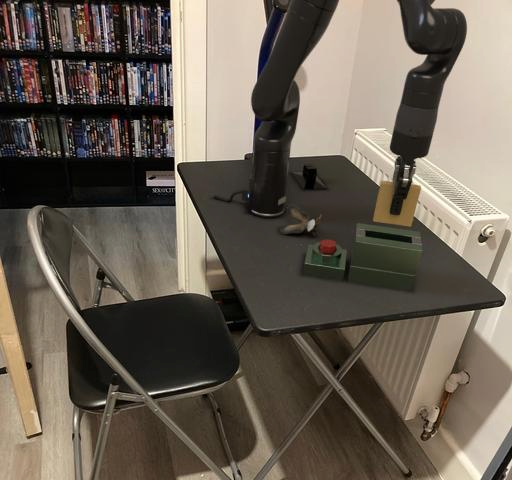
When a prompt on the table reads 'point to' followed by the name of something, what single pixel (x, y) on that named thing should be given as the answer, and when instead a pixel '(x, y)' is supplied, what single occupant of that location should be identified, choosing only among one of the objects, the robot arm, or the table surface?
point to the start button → (327, 246)
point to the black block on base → (308, 178)
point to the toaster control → (325, 263)
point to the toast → (385, 202)
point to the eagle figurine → (302, 218)
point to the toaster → (384, 256)
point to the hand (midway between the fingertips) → (394, 211)
